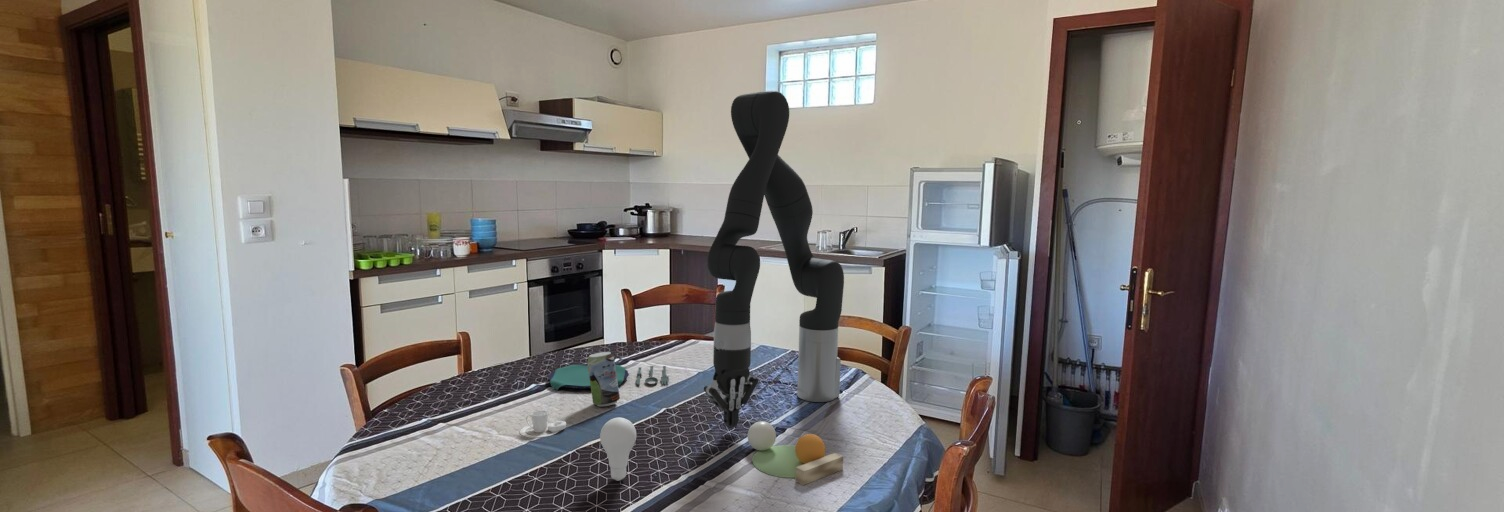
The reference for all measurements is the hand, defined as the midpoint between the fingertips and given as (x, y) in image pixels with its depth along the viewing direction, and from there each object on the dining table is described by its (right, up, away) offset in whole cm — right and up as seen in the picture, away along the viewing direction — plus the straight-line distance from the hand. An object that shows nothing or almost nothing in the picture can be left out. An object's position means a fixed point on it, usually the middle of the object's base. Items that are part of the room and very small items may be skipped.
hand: (730, 426), depth 139 cm
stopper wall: (+16, -4, -18) cm, 25 cm away
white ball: (+6, 0, -8) cm, 10 cm away
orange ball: (+15, -1, -14) cm, 21 cm away
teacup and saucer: (-37, -2, -2) cm, 37 cm away
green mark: (+11, -3, -13) cm, 17 cm away
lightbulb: (-19, -4, -22) cm, 29 cm away
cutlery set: (-32, +3, +35) cm, 47 cm away
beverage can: (-29, +1, +16) cm, 33 cm away
